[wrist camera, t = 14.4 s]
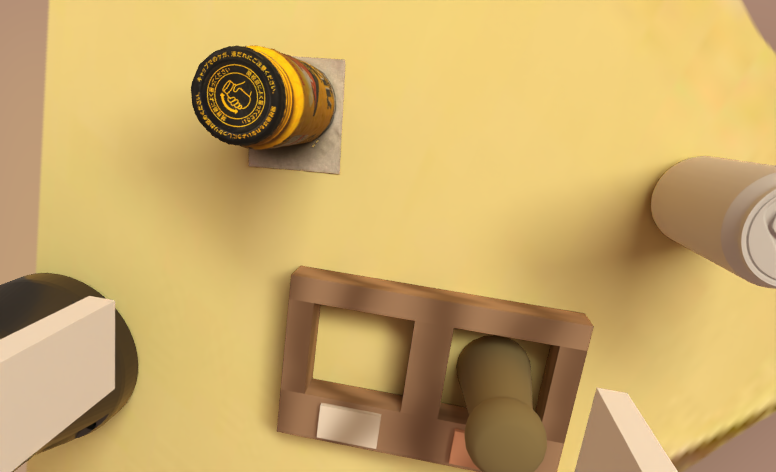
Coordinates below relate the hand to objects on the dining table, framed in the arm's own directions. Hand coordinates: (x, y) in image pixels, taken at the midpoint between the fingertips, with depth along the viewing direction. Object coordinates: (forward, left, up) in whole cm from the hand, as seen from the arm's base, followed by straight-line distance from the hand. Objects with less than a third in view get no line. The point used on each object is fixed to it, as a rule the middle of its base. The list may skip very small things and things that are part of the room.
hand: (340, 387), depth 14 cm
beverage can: (+20, +4, -27) cm, 34 cm away
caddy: (+3, -13, -27) cm, 30 cm away
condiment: (-10, +6, -27) cm, 29 cm away
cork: (+8, -12, -27) cm, 31 cm away
